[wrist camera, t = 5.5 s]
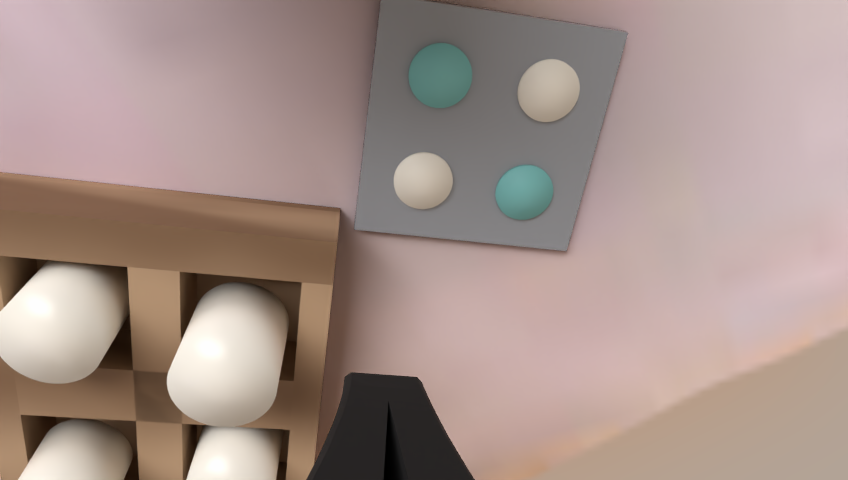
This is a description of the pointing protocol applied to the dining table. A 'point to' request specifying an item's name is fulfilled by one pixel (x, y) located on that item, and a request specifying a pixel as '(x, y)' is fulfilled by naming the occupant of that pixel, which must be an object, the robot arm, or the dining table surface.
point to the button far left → (80, 453)
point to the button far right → (236, 454)
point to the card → (482, 123)
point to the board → (165, 309)
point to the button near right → (230, 356)
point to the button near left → (64, 320)
